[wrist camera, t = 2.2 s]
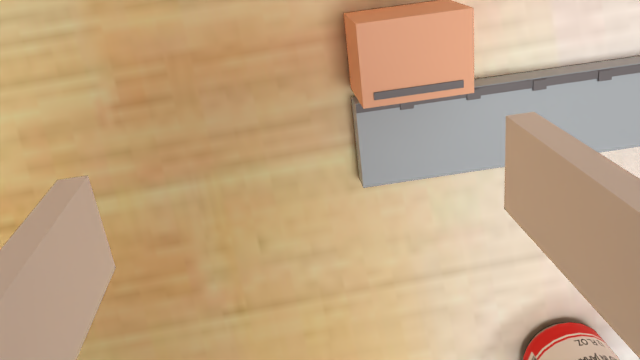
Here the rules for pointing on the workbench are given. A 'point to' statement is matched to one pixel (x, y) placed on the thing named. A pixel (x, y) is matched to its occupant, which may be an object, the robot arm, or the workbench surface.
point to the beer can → (568, 344)
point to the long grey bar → (497, 120)
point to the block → (410, 52)
